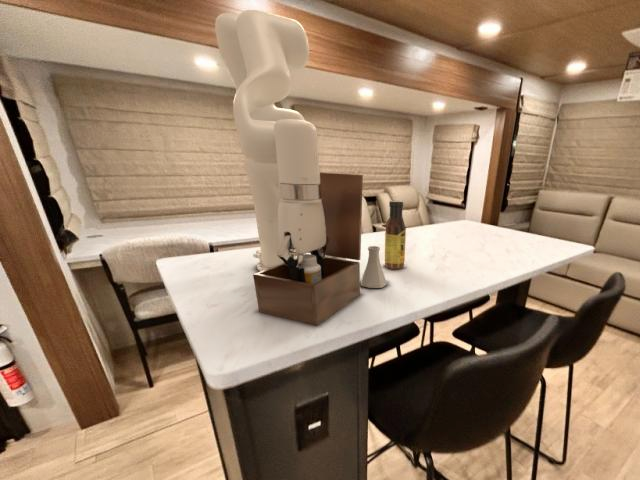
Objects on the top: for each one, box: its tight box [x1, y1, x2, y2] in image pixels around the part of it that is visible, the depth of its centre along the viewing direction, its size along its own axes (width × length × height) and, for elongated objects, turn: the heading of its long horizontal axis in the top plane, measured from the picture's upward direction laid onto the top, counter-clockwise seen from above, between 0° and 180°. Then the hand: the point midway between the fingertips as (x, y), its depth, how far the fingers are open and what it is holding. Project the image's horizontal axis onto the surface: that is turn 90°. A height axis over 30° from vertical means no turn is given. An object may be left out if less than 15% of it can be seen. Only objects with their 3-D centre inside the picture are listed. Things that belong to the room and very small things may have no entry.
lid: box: [307, 172, 364, 261], centre depth 73 cm, size 18×15×5 cm
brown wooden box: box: [252, 257, 361, 326], centre depth 68 cm, size 18×15×8 cm
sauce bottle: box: [384, 200, 407, 270], centre depth 93 cm, size 6×6×20 cm
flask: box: [360, 245, 388, 289], centre depth 80 cm, size 7×7×10 cm
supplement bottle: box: [301, 253, 322, 284], centre depth 67 cm, size 6×6×10 cm
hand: (308, 279), depth 67 cm, fingers open, 6 cm apart
